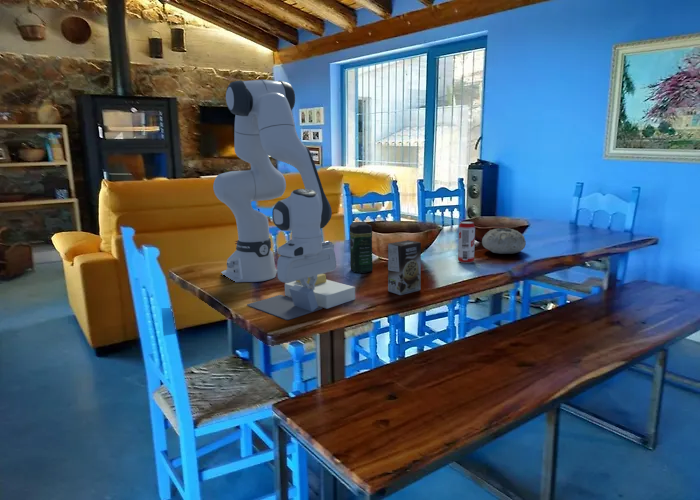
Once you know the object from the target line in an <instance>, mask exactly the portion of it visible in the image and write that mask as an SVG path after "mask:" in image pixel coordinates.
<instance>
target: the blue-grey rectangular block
mask: <svg viewBox="0 0 700 500" xmlns="http://www.w3.org/2000/svg"><path fill="white" fill-rule="evenodd" d="M289 290H290V293H291V296H292V299H293V302H294V305H295V306H297V307H300V308H303V309H306V310H309V311H314V310H315V309H316V308H318V307H319V306H318V305H317V301H316V298H315V295H314V291H313V290H312V289H309V288H305V287H302V286H298V285H294V286H293V287H291V288H290V289H289ZM314 312H315V311H314Z"/></svg>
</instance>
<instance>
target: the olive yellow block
mask: <svg viewBox="0 0 700 500" xmlns="http://www.w3.org/2000/svg"><path fill="white" fill-rule="evenodd" d="M310 279H311V278H309V277H308V281H306V282H307V283H308V284H309V282H310ZM326 280H327V274H326V273H323V274H319V275H317V280H316V283H315V284H314V285H318V284H321V283H325V282H326ZM296 282H300V280H297V281H296ZM300 283H301V282H300Z"/></svg>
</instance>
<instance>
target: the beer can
mask: <svg viewBox="0 0 700 500" xmlns="http://www.w3.org/2000/svg"><path fill="white" fill-rule="evenodd" d="M457 241H458V245H457V251H458V252H457V259H458V262H459V263H460V262H461V264H472V263H473V262H474V261H475V245H476V244H475V243H476V242H475V241H476V226H475V224H474V221H469V220H467V221H466V220H465V221H464V220H463V221H460V223H459V225H458V240H457Z"/></svg>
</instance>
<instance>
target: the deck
mask: <svg viewBox="0 0 700 500" xmlns="http://www.w3.org/2000/svg"><path fill="white" fill-rule="evenodd" d="M294 285H298V286H302V287H303V285H302V283H300V282H296V281H293V282H290V283H284V296H286V297H290V298H292V296H291V293H290V290H289V289H290V288H291V287H293V286H294ZM313 291H314V295H315V298H316V301H317V305H318V307H321V308H322V309H323V308H324V309H330V308H333V307H336V306H339V305H341V304H344V303H345V304H346V303H348V302H352V301H354V300H356V287H355V286H353V285H348V284H344V283H341V282H338V281H334V280H330V279H326V282H325V283H321V284H318V285H315V289H314V290H313Z"/></svg>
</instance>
